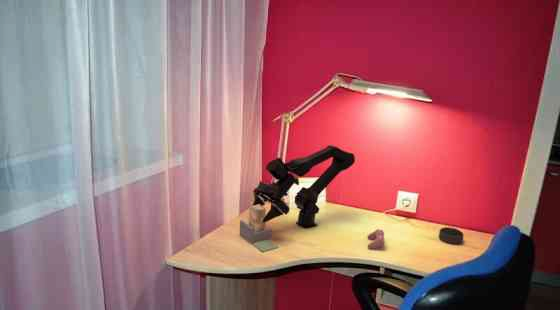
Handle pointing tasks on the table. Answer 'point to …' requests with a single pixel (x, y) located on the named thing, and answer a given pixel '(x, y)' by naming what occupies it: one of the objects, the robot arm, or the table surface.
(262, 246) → the mat
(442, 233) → the smart speaker
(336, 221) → the table surface
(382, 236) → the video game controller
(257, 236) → the tray
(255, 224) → the birch block
